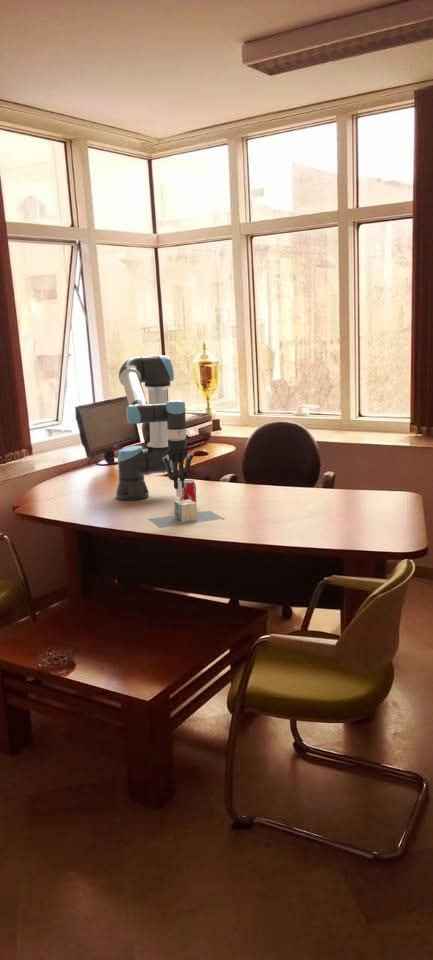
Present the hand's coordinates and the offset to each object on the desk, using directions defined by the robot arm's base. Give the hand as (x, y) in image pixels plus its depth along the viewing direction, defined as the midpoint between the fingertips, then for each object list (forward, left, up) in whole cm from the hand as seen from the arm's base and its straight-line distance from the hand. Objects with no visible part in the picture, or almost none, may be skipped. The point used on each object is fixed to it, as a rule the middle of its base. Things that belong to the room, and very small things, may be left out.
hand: (179, 496), depth 314 cm
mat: (0, +2, -10) cm, 11 cm away
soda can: (-17, +10, -10) cm, 23 cm away
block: (0, -1, -6) cm, 6 cm away
